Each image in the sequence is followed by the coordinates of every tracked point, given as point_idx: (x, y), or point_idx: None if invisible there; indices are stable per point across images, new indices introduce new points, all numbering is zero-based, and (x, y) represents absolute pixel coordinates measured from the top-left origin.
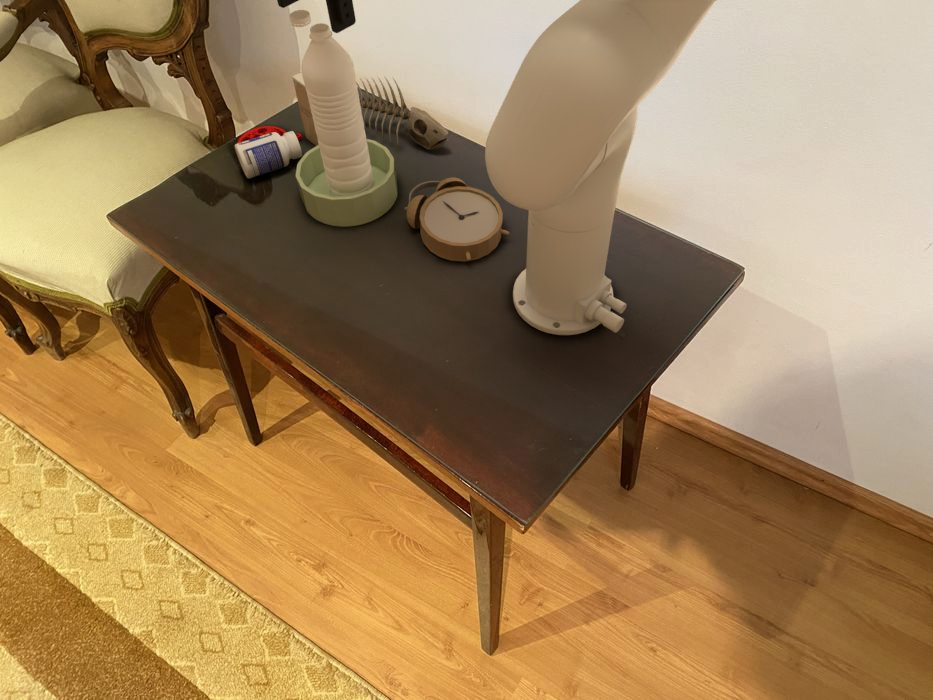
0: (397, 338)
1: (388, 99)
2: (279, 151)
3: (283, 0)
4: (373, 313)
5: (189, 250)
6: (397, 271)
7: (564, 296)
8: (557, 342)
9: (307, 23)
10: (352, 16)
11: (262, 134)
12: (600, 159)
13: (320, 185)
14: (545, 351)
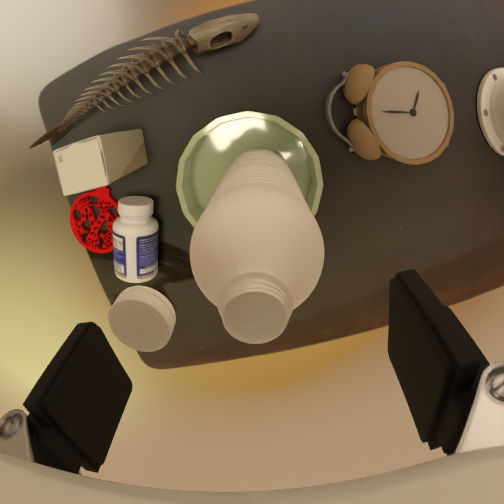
0: (451, 251)
1: (147, 56)
2: (150, 235)
3: (122, 394)
4: (420, 253)
5: (227, 346)
6: (397, 204)
7: None
8: None
9: (172, 311)
10: (448, 310)
11: (83, 218)
12: None
13: None
14: None
